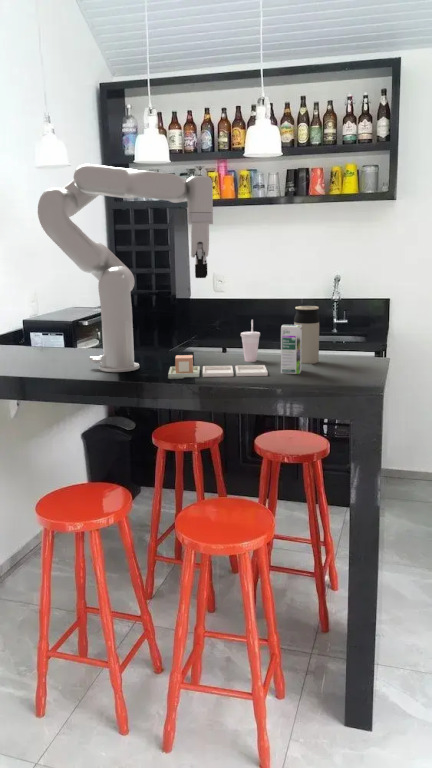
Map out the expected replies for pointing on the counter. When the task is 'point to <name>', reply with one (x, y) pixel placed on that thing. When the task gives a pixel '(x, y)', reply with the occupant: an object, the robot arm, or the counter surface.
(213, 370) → the tray
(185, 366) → the light orange cube
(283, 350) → the syrup box
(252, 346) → the smoothie
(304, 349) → the travel mug
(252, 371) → the tray
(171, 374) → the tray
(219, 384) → the counter surface
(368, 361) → the counter surface
